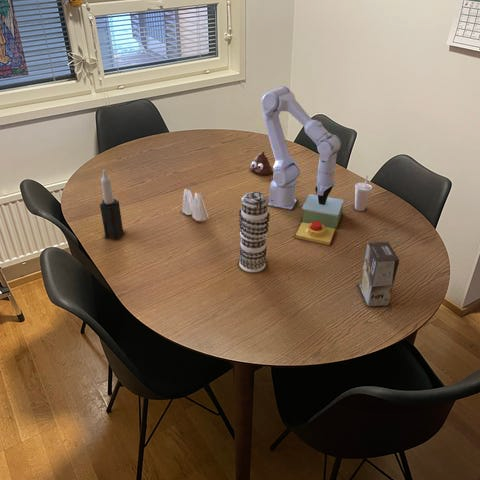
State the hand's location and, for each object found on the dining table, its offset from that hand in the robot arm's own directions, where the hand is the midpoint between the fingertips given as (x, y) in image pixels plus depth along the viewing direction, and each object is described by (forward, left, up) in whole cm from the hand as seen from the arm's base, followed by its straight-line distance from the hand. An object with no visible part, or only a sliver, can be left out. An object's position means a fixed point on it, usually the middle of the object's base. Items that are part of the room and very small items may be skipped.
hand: (322, 203), depth 169 cm
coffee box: (+24, -37, -6) cm, 44 cm away
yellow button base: (+1, -12, -6) cm, 13 cm away
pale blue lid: (0, 0, -1) cm, 1 cm away
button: (+1, -12, -3) cm, 12 cm away
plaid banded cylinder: (-14, -36, -6) cm, 39 cm away
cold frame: (+1, 0, -6) cm, 6 cm away
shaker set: (-43, -17, -6) cm, 47 cm away
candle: (-64, -38, -6) cm, 75 cm away
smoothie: (+13, +12, -6) cm, 19 cm away
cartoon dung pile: (-16, +256, -48) cm, 261 cm away
